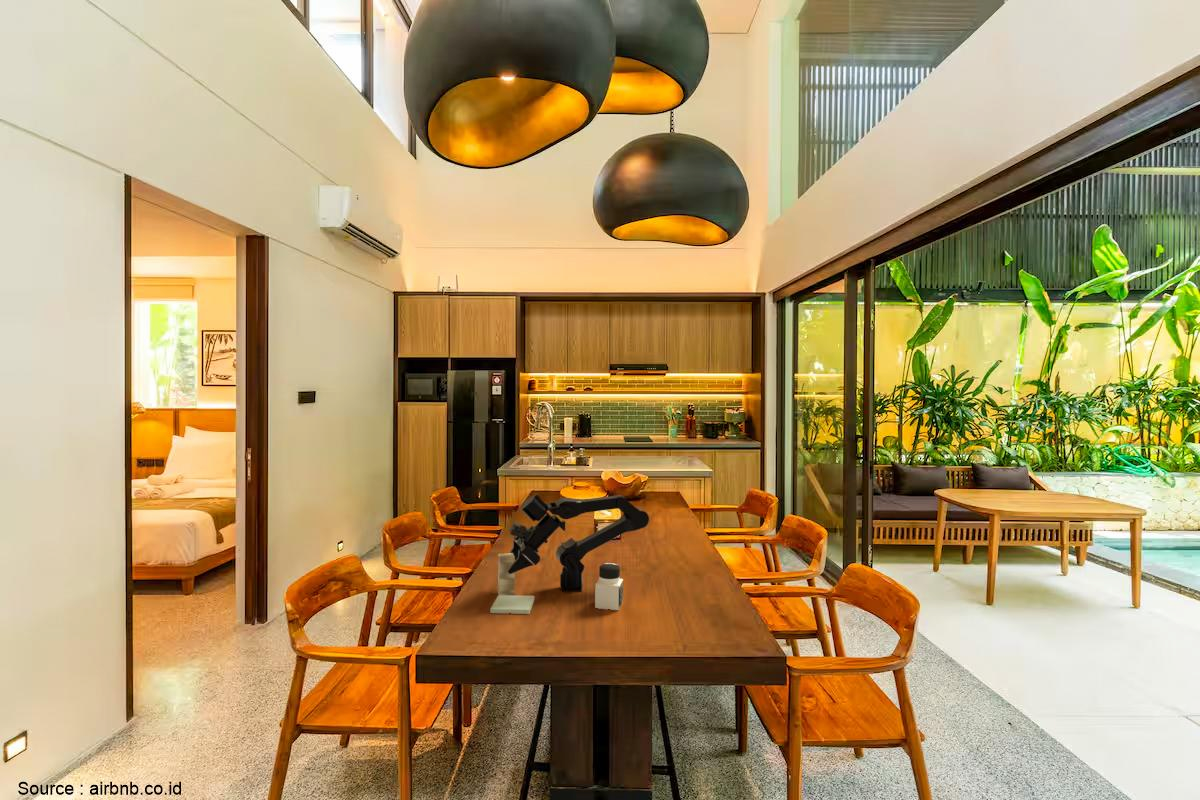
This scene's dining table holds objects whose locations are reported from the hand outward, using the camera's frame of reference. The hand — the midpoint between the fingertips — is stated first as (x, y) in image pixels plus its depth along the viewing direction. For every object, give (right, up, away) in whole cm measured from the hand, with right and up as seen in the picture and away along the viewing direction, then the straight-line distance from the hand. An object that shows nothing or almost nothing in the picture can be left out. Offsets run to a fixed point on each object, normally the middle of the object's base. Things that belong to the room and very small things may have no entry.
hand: (506, 568), depth 179 cm
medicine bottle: (+31, -9, -8) cm, 34 cm away
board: (+3, -8, -10) cm, 13 cm away
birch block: (0, -8, 0) cm, 8 cm away
